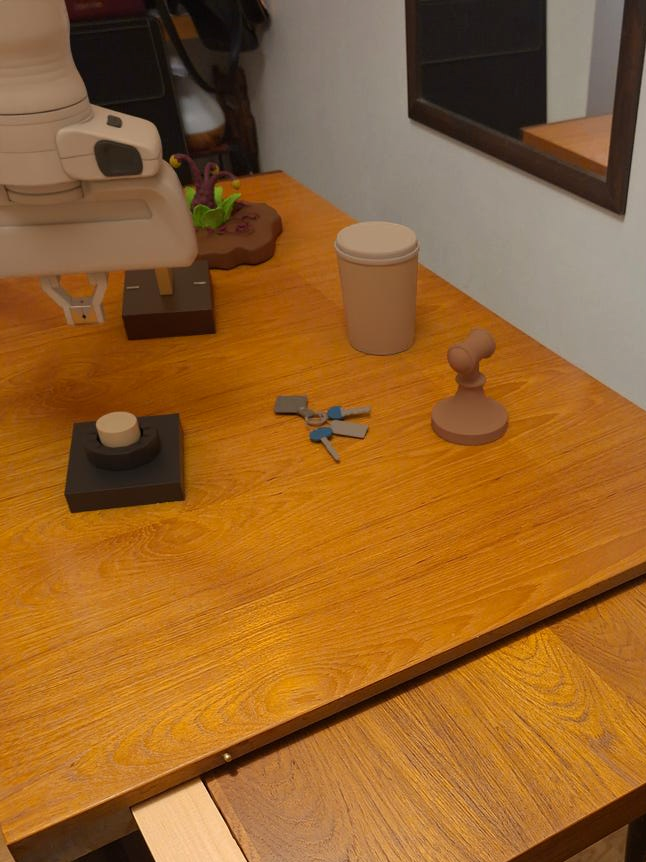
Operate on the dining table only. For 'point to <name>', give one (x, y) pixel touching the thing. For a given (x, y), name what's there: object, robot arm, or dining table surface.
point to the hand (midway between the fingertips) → (87, 322)
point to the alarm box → (126, 467)
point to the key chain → (323, 419)
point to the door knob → (470, 396)
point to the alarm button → (118, 429)
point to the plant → (228, 221)
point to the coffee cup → (378, 285)
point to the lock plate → (168, 303)
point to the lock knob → (164, 280)
